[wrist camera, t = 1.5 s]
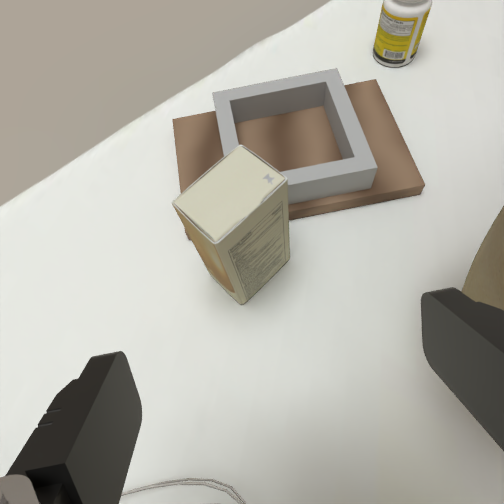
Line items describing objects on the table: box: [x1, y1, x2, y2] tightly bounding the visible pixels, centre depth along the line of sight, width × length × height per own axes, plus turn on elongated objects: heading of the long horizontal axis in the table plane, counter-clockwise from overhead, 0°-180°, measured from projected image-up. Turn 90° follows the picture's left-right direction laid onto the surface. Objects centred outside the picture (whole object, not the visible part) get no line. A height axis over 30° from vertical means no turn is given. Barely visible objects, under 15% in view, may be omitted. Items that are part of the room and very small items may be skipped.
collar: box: [212, 68, 378, 205], centre depth 36 cm, size 12×12×3 cm
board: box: [173, 79, 425, 240], centre depth 38 cm, size 22×14×2 cm, turn 100°
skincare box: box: [172, 145, 290, 305], centre depth 28 cm, size 6×4×12 cm
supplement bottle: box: [373, 0, 432, 67], centre depth 40 cm, size 5×5×8 cm
